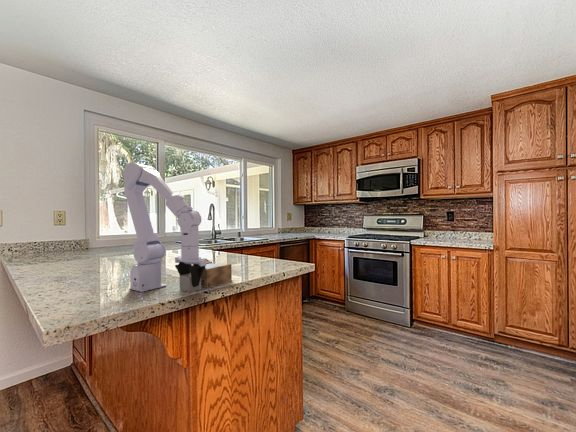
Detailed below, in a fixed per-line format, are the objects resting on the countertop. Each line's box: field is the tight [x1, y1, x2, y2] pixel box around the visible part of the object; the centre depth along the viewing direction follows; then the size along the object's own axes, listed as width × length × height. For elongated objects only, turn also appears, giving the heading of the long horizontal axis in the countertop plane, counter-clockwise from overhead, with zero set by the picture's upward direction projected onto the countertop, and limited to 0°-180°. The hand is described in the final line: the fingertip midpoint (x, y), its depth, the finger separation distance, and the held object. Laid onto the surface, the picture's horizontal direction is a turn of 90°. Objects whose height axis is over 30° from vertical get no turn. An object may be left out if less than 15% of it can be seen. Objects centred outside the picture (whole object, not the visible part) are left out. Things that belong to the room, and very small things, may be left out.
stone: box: [179, 273, 202, 293], centre depth 99 cm, size 5×5×5 cm
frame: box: [191, 261, 233, 288], centre depth 109 cm, size 12×12×6 cm
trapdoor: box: [202, 262, 223, 274], centre depth 109 cm, size 11×9×2 cm
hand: (190, 285), depth 99 cm, fingers closed on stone, 5 cm apart
